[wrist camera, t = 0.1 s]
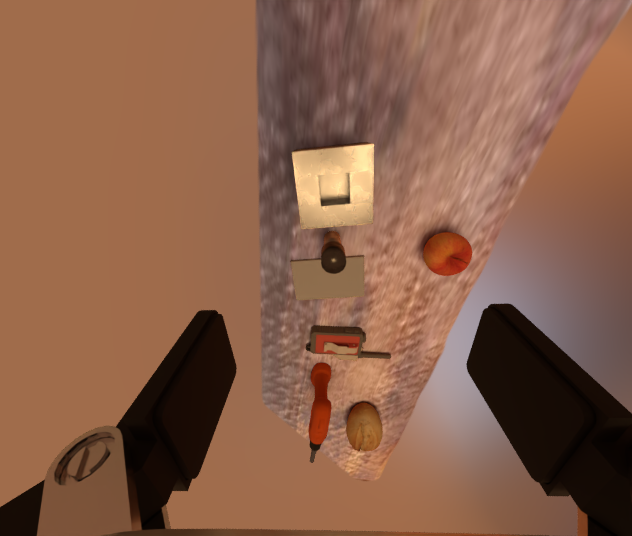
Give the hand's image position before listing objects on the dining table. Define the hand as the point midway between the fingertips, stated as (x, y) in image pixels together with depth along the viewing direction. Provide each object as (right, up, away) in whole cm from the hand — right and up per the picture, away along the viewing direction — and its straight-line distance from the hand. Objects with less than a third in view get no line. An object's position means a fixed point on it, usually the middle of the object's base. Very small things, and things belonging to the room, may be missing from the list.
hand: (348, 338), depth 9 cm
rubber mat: (+1, +1, +42) cm, 42 cm away
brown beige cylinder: (+2, +8, +38) cm, 39 cm away
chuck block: (+2, +17, +33) cm, 37 cm away
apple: (+21, +7, +38) cm, 44 cm away
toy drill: (-1, -28, +57) cm, 64 cm away
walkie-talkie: (+7, -14, +50) cm, 53 cm away
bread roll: (+12, -39, +63) cm, 75 cm away
